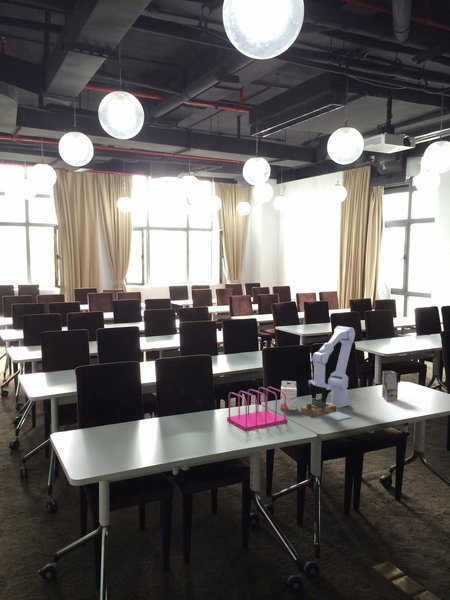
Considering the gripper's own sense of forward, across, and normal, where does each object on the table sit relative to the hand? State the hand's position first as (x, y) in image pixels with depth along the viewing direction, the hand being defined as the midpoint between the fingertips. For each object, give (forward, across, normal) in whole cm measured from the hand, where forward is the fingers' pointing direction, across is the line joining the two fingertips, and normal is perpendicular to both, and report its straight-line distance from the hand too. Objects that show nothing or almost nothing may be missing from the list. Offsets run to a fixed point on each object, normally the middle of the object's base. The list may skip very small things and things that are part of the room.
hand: (318, 400), depth 267 cm
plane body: (+6, 0, 0) cm, 6 cm away
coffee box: (+6, +5, +51) cm, 52 cm away
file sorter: (+7, -5, -37) cm, 38 cm away
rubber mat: (+6, +12, +2) cm, 13 cm away
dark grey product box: (+3, 0, 0) cm, 3 cm away
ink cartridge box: (+7, -13, -10) cm, 18 cm away
